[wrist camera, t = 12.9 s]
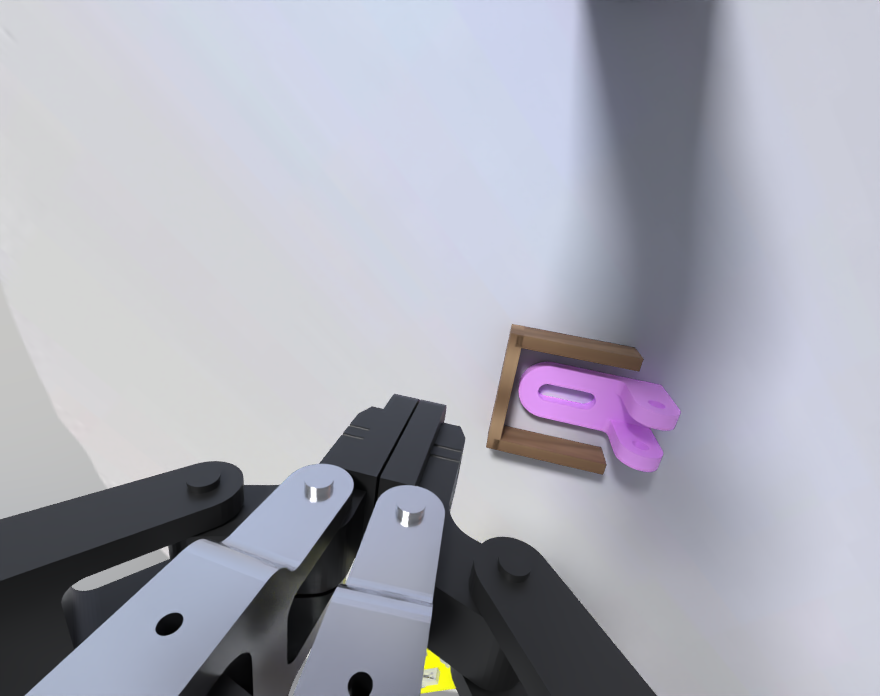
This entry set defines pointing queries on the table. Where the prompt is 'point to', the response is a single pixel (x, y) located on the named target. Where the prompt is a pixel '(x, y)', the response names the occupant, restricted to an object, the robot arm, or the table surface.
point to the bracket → (605, 409)
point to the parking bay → (539, 443)
